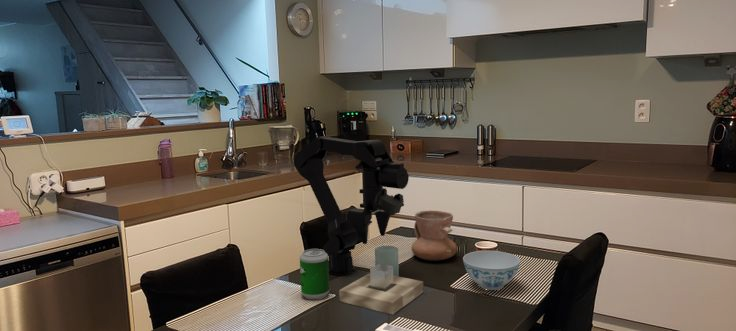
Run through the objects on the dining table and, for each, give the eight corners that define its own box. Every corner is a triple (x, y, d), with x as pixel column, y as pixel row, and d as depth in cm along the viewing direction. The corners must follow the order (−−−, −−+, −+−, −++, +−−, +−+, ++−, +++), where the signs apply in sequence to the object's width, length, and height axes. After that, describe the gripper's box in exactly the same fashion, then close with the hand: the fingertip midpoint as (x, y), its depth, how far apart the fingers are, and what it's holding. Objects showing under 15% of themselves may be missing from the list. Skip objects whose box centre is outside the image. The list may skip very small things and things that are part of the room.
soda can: (333, 291, 142) (332, 248, 140) (322, 302, 135) (320, 257, 133) (308, 288, 144) (306, 246, 143) (296, 299, 137) (294, 255, 136)
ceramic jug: (468, 260, 164) (468, 216, 162) (431, 268, 157) (430, 222, 156) (435, 246, 180) (434, 206, 178) (399, 253, 173) (398, 211, 171)
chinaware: (473, 273, 153) (473, 247, 152) (525, 281, 145) (525, 254, 144) (455, 291, 140) (455, 263, 139) (511, 301, 133) (511, 272, 131)
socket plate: (339, 301, 135) (339, 290, 135) (373, 281, 148) (372, 271, 148) (392, 314, 127) (392, 302, 126) (423, 292, 140) (423, 281, 139)
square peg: (370, 298, 137) (370, 268, 136) (379, 292, 141) (378, 263, 139) (385, 301, 135) (384, 271, 133) (393, 295, 138) (393, 266, 137)
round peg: (371, 277, 152) (370, 250, 151) (383, 270, 158) (382, 244, 156) (391, 281, 148) (390, 254, 147) (402, 273, 154) (402, 247, 153)
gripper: (379, 194, 133) (380, 253, 135) (414, 182, 148) (414, 235, 151) (343, 190, 139) (345, 246, 141) (380, 179, 155) (382, 230, 157)
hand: (374, 239), depth 147 cm, fingers open, 9 cm apart
